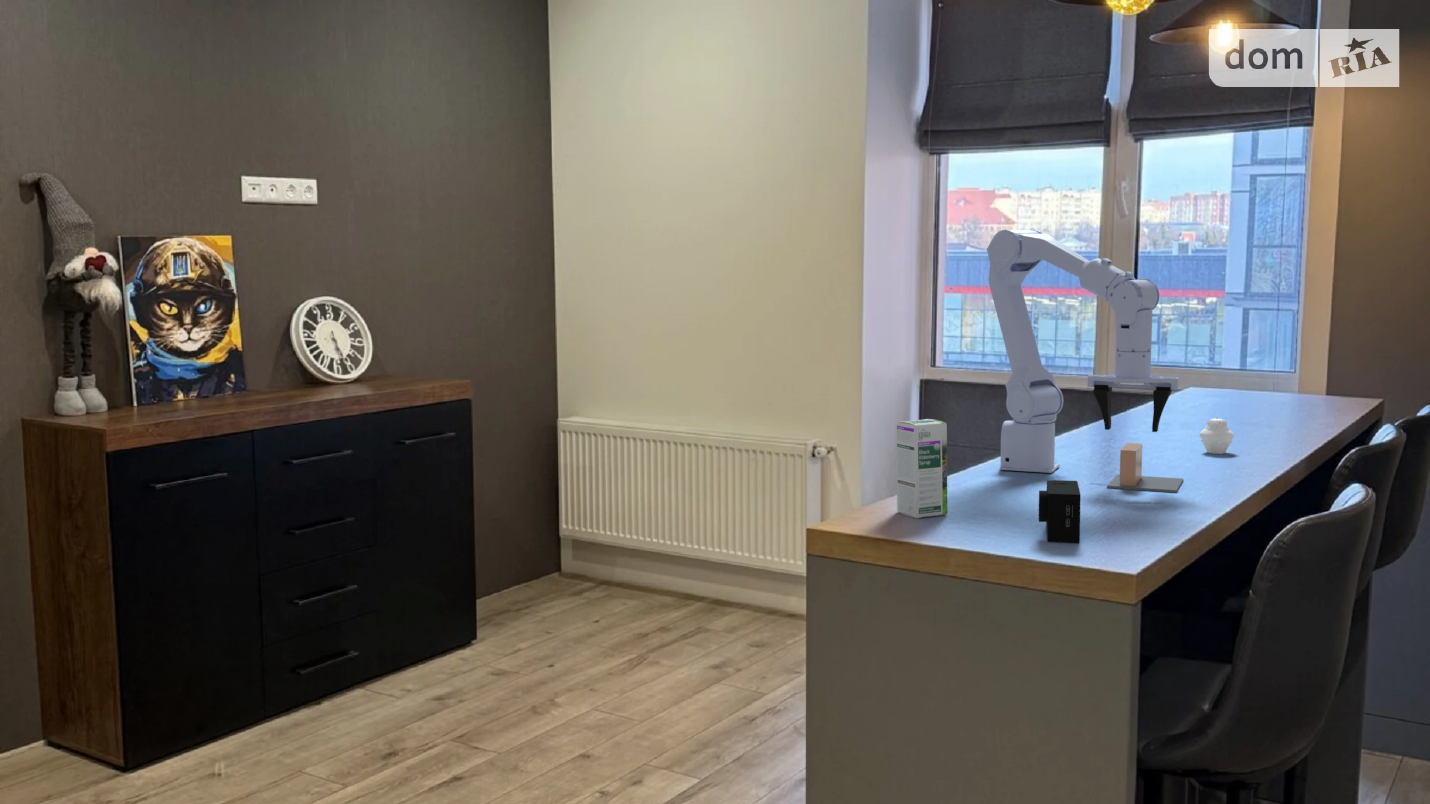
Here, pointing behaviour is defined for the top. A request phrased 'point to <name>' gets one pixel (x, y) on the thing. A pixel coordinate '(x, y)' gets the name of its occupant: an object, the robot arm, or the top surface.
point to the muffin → (1216, 436)
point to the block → (1131, 464)
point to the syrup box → (921, 468)
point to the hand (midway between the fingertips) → (1131, 430)
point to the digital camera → (1061, 511)
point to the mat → (1149, 484)
